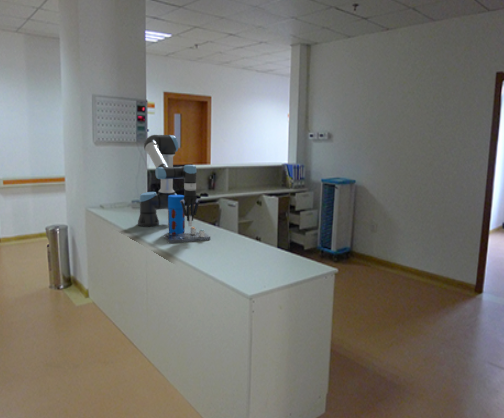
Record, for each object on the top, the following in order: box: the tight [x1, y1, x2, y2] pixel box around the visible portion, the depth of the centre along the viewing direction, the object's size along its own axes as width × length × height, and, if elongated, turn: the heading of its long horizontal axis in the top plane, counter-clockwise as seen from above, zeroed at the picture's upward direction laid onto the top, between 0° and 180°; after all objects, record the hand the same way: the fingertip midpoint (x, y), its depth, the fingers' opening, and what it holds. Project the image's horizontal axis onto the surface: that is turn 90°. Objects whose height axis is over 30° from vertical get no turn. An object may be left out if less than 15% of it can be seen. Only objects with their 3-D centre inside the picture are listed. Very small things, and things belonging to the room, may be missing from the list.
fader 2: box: [198, 228, 206, 237], centre depth 253 cm, size 4×2×4 cm, turn 25°
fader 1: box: [190, 226, 197, 234], centre depth 259 cm, size 4×2×4 cm, turn 25°
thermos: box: [167, 194, 186, 235], centre depth 269 cm, size 11×11×25 cm
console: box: [163, 231, 211, 244], centre depth 254 cm, size 15×26×2 cm, turn 115°
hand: (190, 225), depth 258 cm, fingers closed
